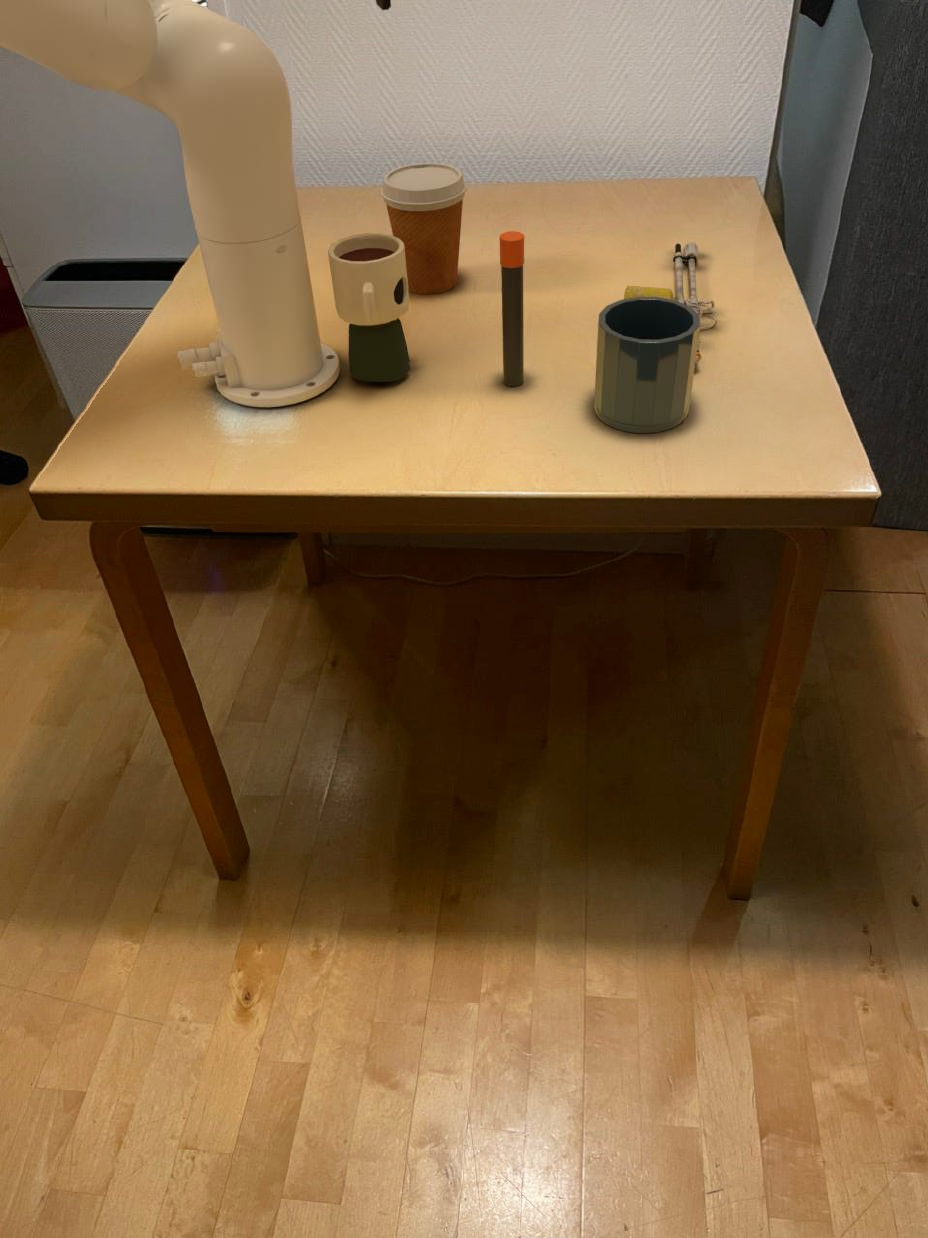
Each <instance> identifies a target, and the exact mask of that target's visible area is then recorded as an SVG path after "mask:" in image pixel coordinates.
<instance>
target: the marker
mask: <svg viewBox="0 0 928 1238" xmlns="http://www.w3.org/2000/svg"><path fill="white" fill-rule="evenodd" d="M499 264H500V269H501V270H500V277H501V279H500V281H501V323H502V325H501V326H502V327H501V328H502V375H503V376H502V377H503V379H502V380H503V383H504V385H505V386H508V387H518V386H521V385H523V383H524V381H525V380H524V378H525V377H524V375H525V373H524V371H525V370H524V369H525V368H524V357H525V356H524V355H525V354H524V352H525V351H524V264H525V235H524V233H522V232H521V231H514V230H510V231H505V232H502V233H501V234H500V235H499Z"/></svg>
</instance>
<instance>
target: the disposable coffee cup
mask: <svg viewBox="0 0 928 1238" xmlns="http://www.w3.org/2000/svg"><path fill="white" fill-rule="evenodd" d="M467 190H468V184H467V182H466V181H465V179H464V176H463V172H462V171H461V170H460V169H459V168H457V167H455V166H454V165H450V164H447V163H441V162H440V163H438V162H436V163H435V162H419V163H411V164H406V165H402V166H399V167H395V168H393V169H391V170H389V171H388V172H387V173H385V175H384V176H383V181H382V186H381V187H380V191H379V192H380V195H381V198H382V200H383V201H384V203H385V205H386V210H387V213H388V218H389V223H390V228H391V233H392V236H394V237H396V238H399V239H400V240H401V241H402V242H403V243H404V248H405V259H406V270H407V279H408V291H409V292H412V293H416V294H422V295H430V294H441V293H444V292H447V291H449V290H451V289H452V288H454V287H455V286H456V285H457V283H458V271H459V259H460V245H461V234H462V233H461V231H462V216H463V204H464V202H463V201H464V197H465V195H466V192H467Z"/></svg>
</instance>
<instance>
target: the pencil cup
mask: <svg viewBox="0 0 928 1238" xmlns="http://www.w3.org/2000/svg"><path fill="white" fill-rule="evenodd" d="M699 314H700V313H699ZM699 314H698V313H697V312H695V311H694V310H693V309H692V308H691V307H690V306H688V305H685V304H683V303H681V302H679V301H676V300H671V299H666V298H661V297H634V298H628V299H624V298H623V299H619V300H617V301H614V302H612V303H610V304H608V305H606V306H605V307H604V308H603V309H602V310H601V311H600V312H599V313H598V323H597V325H598V326H597V341H596V342H597V343H596V358H595V359H596V361H595V378H594V379H595V380H594V397H593V399H594V400H593V411H594V413H595V415H596V417H597V418H598V419H599V420H600V421H601V422H602V423H604V424H605V425H607V426H608V427H611V428H614V429H615V430H618V431H622V432H626V433H632V434H653V433H661V432H666V431H668V430H671V429H673V428H675V427H677V426H680V424H682V422H684V421H685V419H686V418H687V417H688V414H689V410H690V406H691V399H692V392H693V384H694V377H695V368H696V363H697V361H696V354H697V346H698V345H699V343H698V340H699V338H700V332H701V331H700V330H701V329H700V327H701V317H699Z"/></svg>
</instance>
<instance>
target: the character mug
mask: <svg viewBox="0 0 928 1238" xmlns="http://www.w3.org/2000/svg"><path fill="white" fill-rule="evenodd" d="M327 254H328V262H329V268H330V275H331V283H332V290H333V298H334V304H335V309H336V314H337V316H338V317H339V319H340V320H342V321H344V323H347V324H348V355H347V357H348V374H349V375H350V376H351V377H352V378H353V379H355V380H358V381H359V380H360V381H364V382H375V383H384V382H385V383H386V382H387V383H388V382H389V383H391V382H392V383H393V382H395V381H398V380H400V379H403V378H405V377H406V376H407V375H408V374H409V372H410V371H411V365H410V364H411V361H410V355H409V350H408V344H407V340H406V336H405V332H404V328H403V325H402V321H401V319H400V318H401V317H402V316H404V315H405V314H406V313H407V312H408V311H409V308H410V294H409V292H410V291H409V290H408V279H407V270H406V259H405V248H404V243H403V242H402V241H401V240H400V239H399V238H396V237H394V236H393V234H386V233H380V232H365V233H360V234H359V233H357V234H351V235H349V236H345V237H342V238H340V239H338V240H337V241H335V242H333V243H331V245H330V246H329V248H328V249H327Z"/></svg>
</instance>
